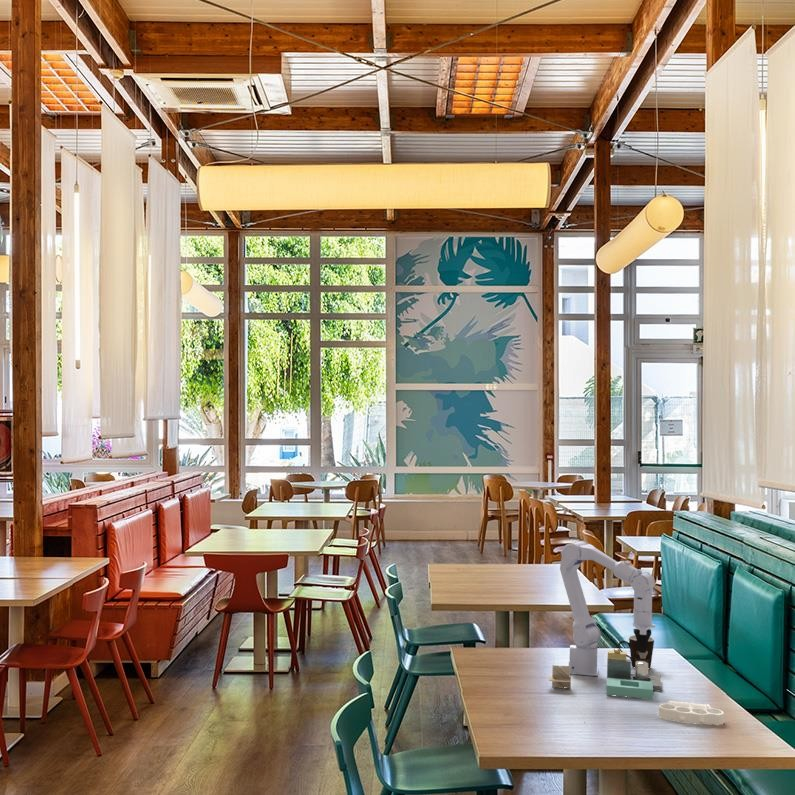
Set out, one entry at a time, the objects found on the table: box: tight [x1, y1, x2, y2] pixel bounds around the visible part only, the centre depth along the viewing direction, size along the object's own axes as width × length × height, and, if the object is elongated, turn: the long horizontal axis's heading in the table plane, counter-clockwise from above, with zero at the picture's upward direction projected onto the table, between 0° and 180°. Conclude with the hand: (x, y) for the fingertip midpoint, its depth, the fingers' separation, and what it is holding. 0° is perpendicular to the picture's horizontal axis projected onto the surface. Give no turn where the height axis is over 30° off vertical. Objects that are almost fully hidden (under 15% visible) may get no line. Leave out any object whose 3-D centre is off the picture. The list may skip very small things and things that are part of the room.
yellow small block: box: [607, 648, 628, 660], centre depth 294 cm, size 6×2×3 cm, turn 76°
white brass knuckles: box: [658, 700, 725, 725], centre depth 260 cm, size 3×18×15 cm
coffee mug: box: [617, 634, 655, 669], centre depth 313 cm, size 12×9×10 cm
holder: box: [606, 677, 654, 700], centre depth 281 cm, size 14×9×3 cm, turn 76°
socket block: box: [606, 657, 663, 692], centre depth 292 cm, size 17×12×7 cm
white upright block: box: [634, 661, 649, 681], centre depth 292 cm, size 4×4×7 cm
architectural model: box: [548, 665, 572, 690], centre depth 284 cm, size 3×7×7 cm, turn 85°
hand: (642, 652), depth 292 cm, fingers closed
